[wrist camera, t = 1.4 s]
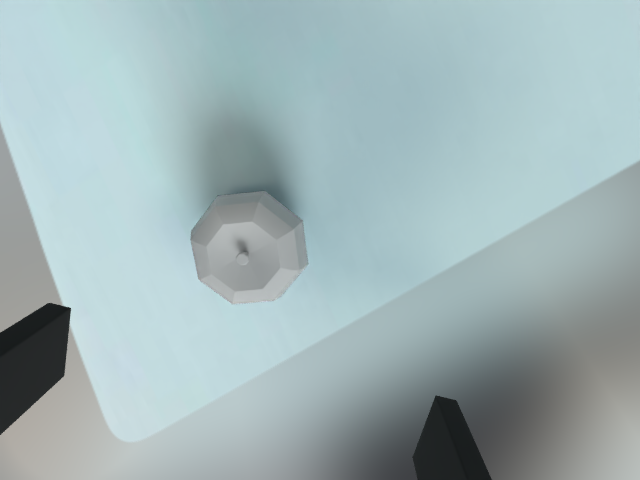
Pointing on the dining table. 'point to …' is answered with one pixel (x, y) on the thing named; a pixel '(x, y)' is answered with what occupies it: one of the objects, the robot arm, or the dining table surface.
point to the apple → (249, 247)
